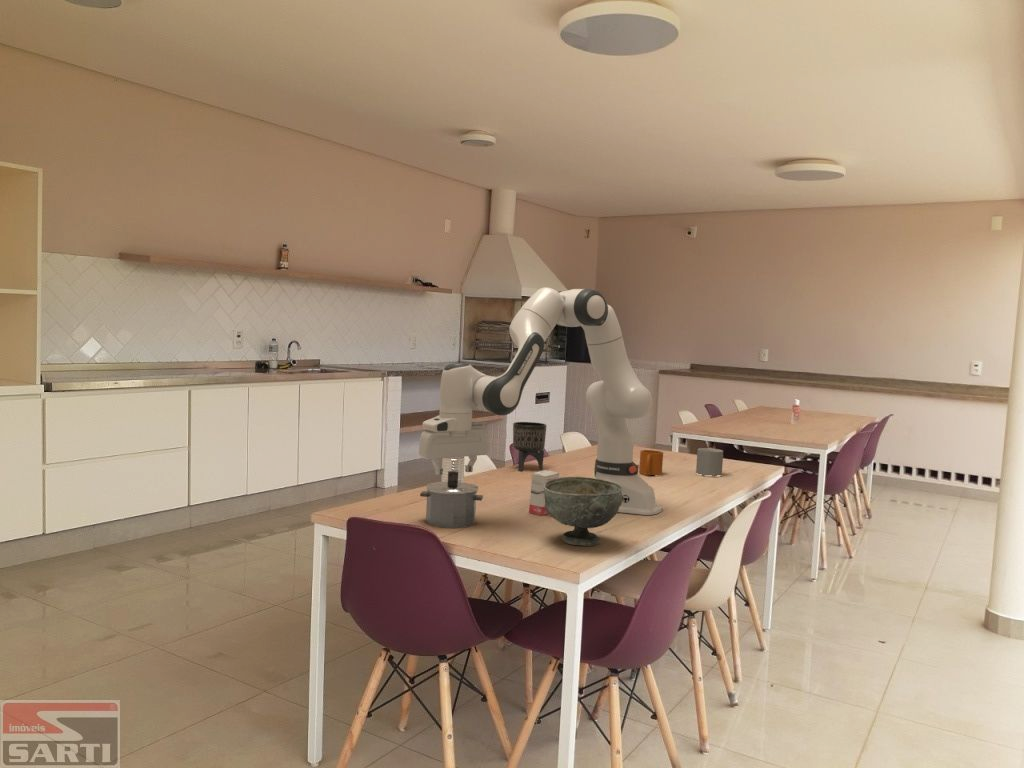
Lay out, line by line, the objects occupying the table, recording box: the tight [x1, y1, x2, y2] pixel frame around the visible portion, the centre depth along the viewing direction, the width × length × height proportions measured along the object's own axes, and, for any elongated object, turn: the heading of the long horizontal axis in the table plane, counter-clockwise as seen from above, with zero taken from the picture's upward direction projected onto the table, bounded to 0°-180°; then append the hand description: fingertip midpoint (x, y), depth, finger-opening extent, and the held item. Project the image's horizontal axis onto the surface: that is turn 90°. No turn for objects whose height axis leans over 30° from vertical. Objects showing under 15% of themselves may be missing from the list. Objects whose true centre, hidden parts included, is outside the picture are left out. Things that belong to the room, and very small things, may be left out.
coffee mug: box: [695, 447, 724, 476], centre depth 314 cm, size 13×10×10 cm
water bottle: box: [440, 457, 465, 482], centre depth 243 cm, size 7×7×25 cm
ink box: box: [528, 469, 560, 516], centre depth 232 cm, size 9×5×12 cm, turn 148°
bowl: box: [544, 476, 623, 547], centre depth 201 cm, size 20×19×15 cm
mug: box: [638, 449, 664, 477], centre depth 307 cm, size 9×12×9 cm
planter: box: [512, 421, 547, 472], centre depth 305 cm, size 13×13×18 cm
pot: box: [419, 489, 484, 529], centre depth 215 cm, size 17×13×9 cm
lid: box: [426, 471, 479, 495], centre depth 215 cm, size 14×14×6 cm
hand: (454, 473), depth 215 cm, fingers open, 8 cm apart
